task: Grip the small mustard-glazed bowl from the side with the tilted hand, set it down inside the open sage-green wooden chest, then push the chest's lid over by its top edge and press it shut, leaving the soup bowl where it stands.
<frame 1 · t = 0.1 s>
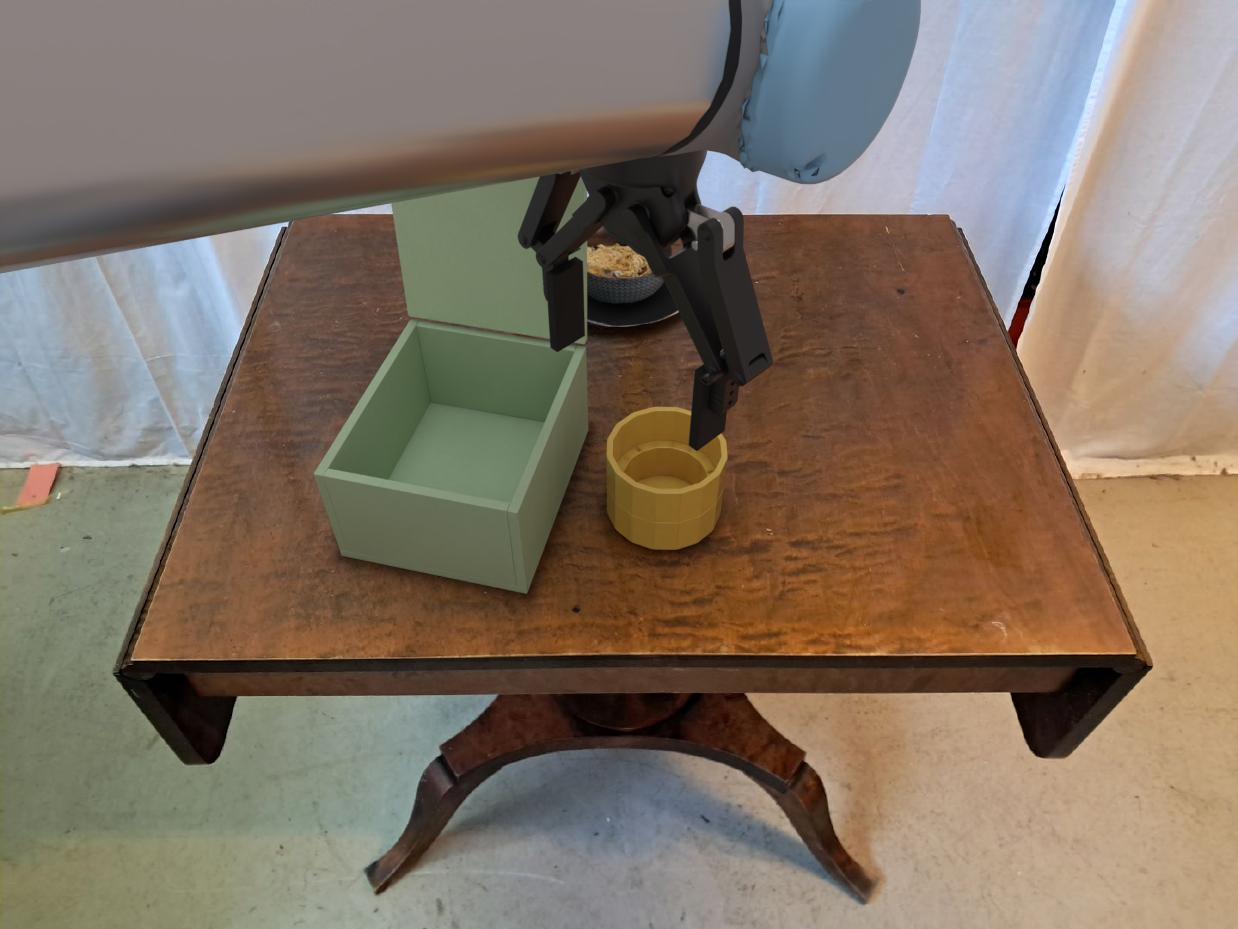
hand: (633, 387, 65), 16 cm above the table, tool pointing down, fingers open, 13 cm apart
chest lid: (488, 222, 73), point 20 cm above the table, hinge at 95.0°
soup bowl: (617, 295, 100), on the table
chest: (472, 489, 81), on the table
bowl: (663, 510, 79), on the table
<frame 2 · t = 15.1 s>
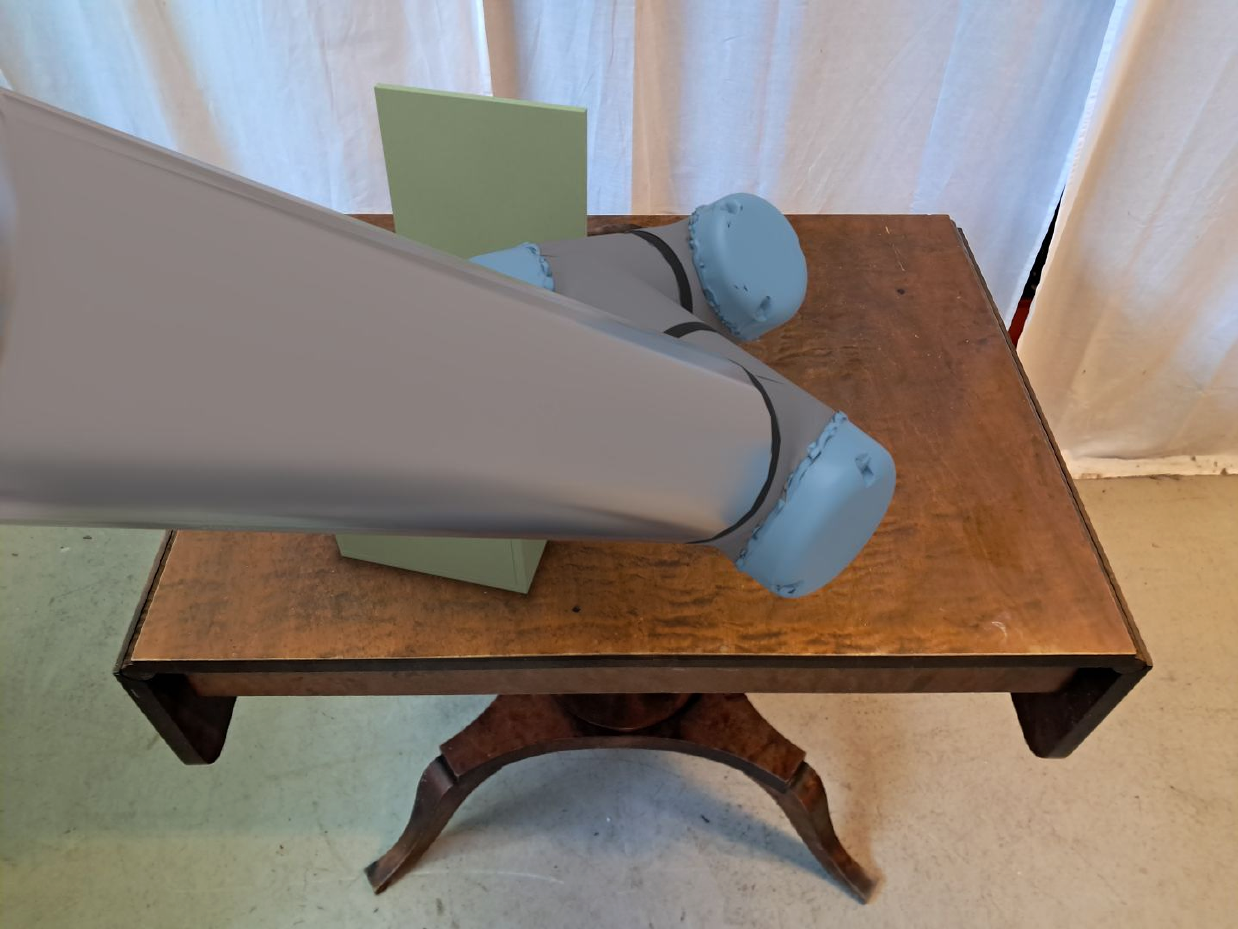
hand: (441, 421, 77), 6 cm above the table, tool tilted 45°, fingers open, 12 cm apart
bowl: (472, 482, 80), point 1 cm above the table, touching chest
everything else where it was.
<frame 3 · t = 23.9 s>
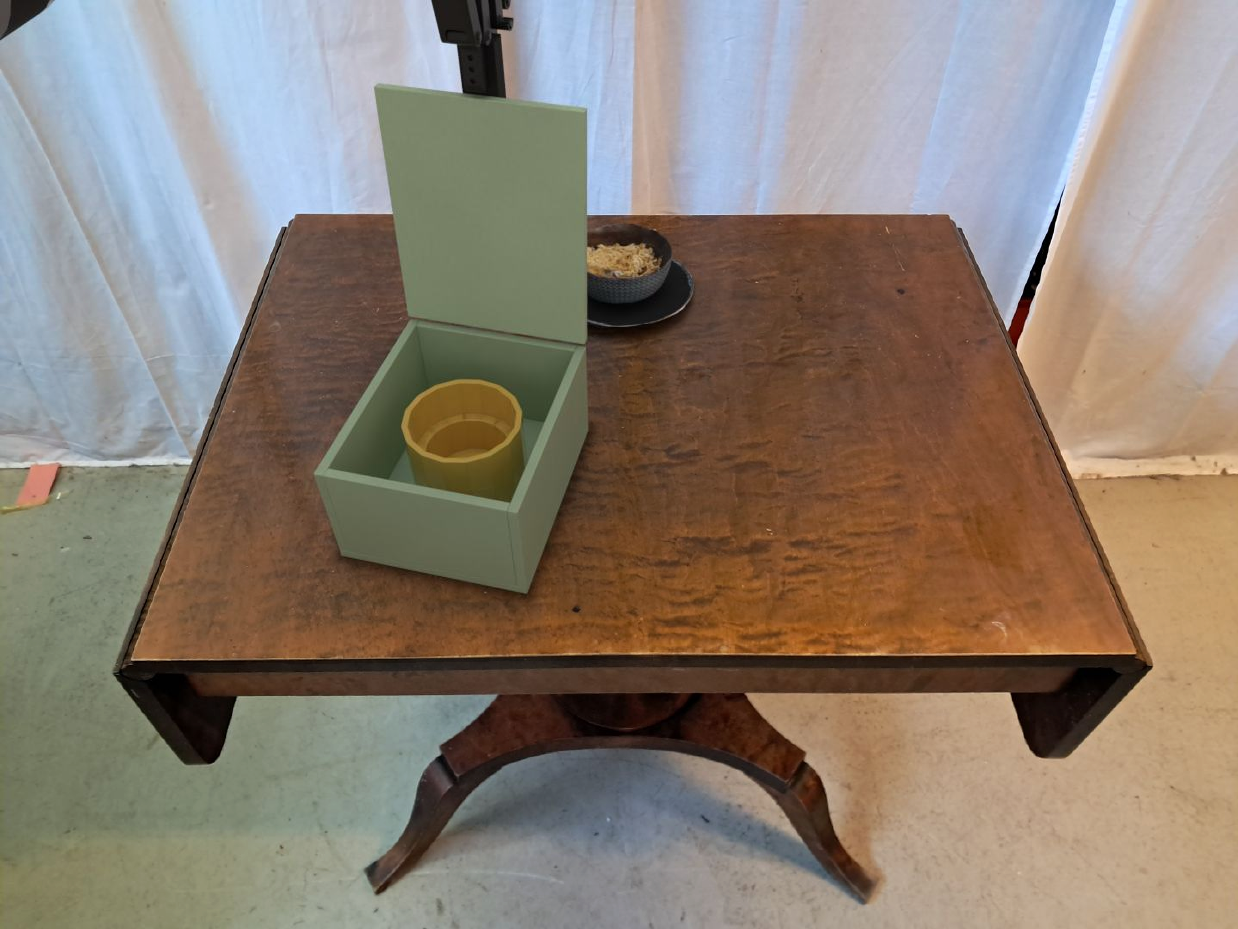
hand: (487, 125, 69), 27 cm above the table, tool pointing down, fingers closed
chest lid: (488, 222, 73), point 20 cm above the table, hinge at 95.0°, touching gripper
everything else where it was.
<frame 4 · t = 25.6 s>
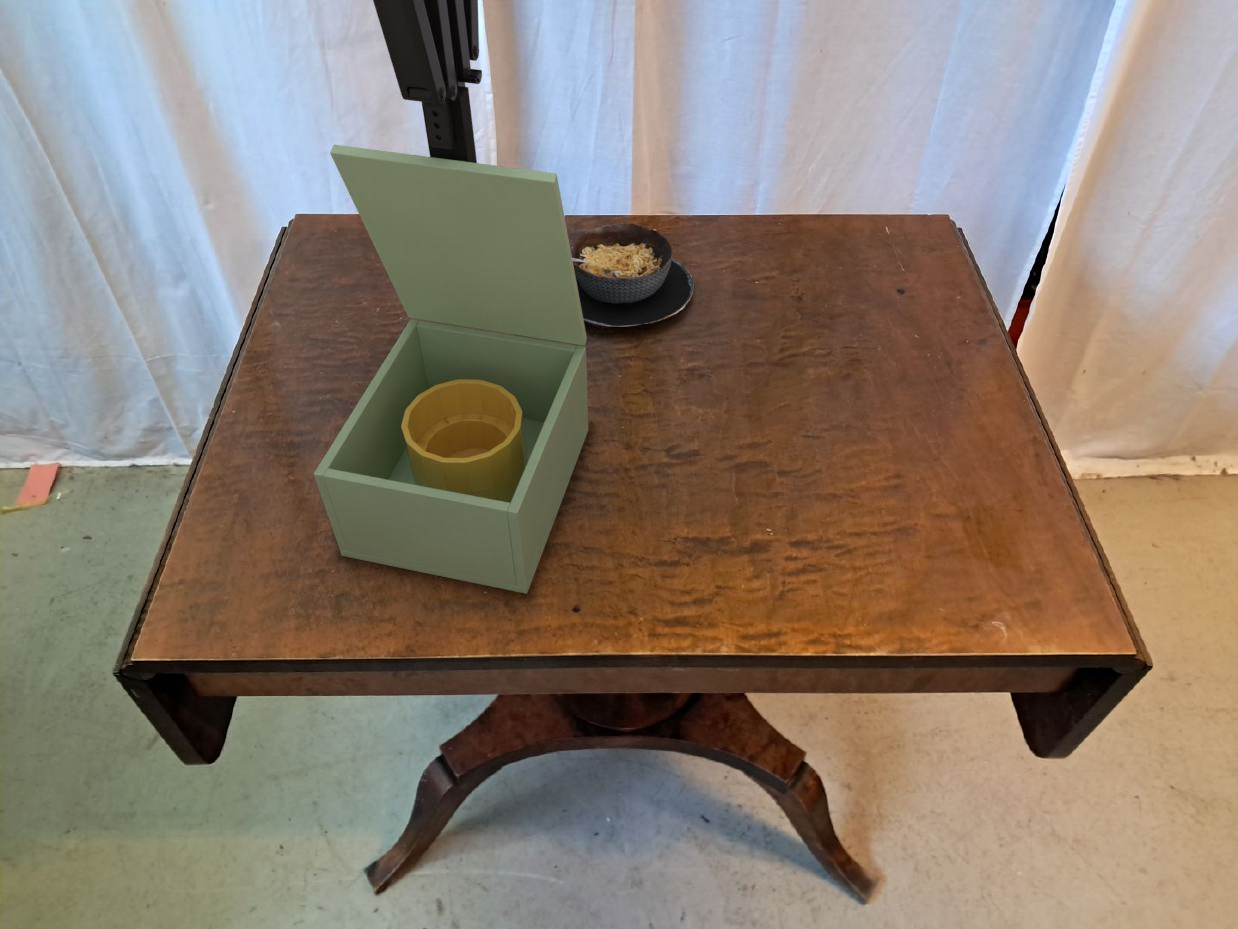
hand: (456, 181, 65), 26 cm above the table, tool pointing down, fingers closed
chest lid: (472, 255, 71), point 19 cm above the table, hinge at 72.0°, touching gripper
everything else where it was.
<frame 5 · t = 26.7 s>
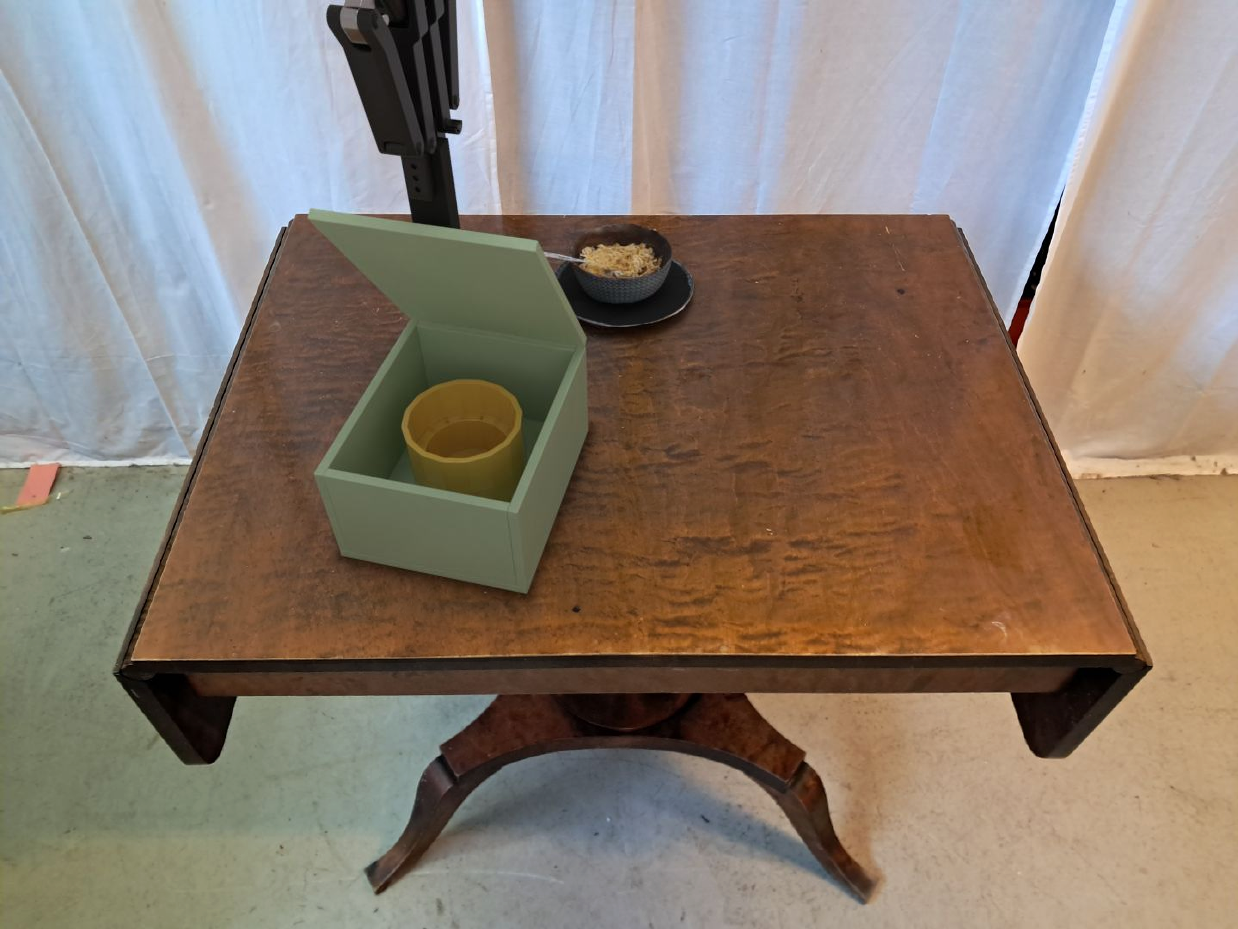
hand: (437, 230, 63), 25 cm above the table, tool pointing down, fingers closed
chest lid: (463, 285, 70), point 18 cm above the table, hinge at 57.0°, touching gripper
everything else where it was.
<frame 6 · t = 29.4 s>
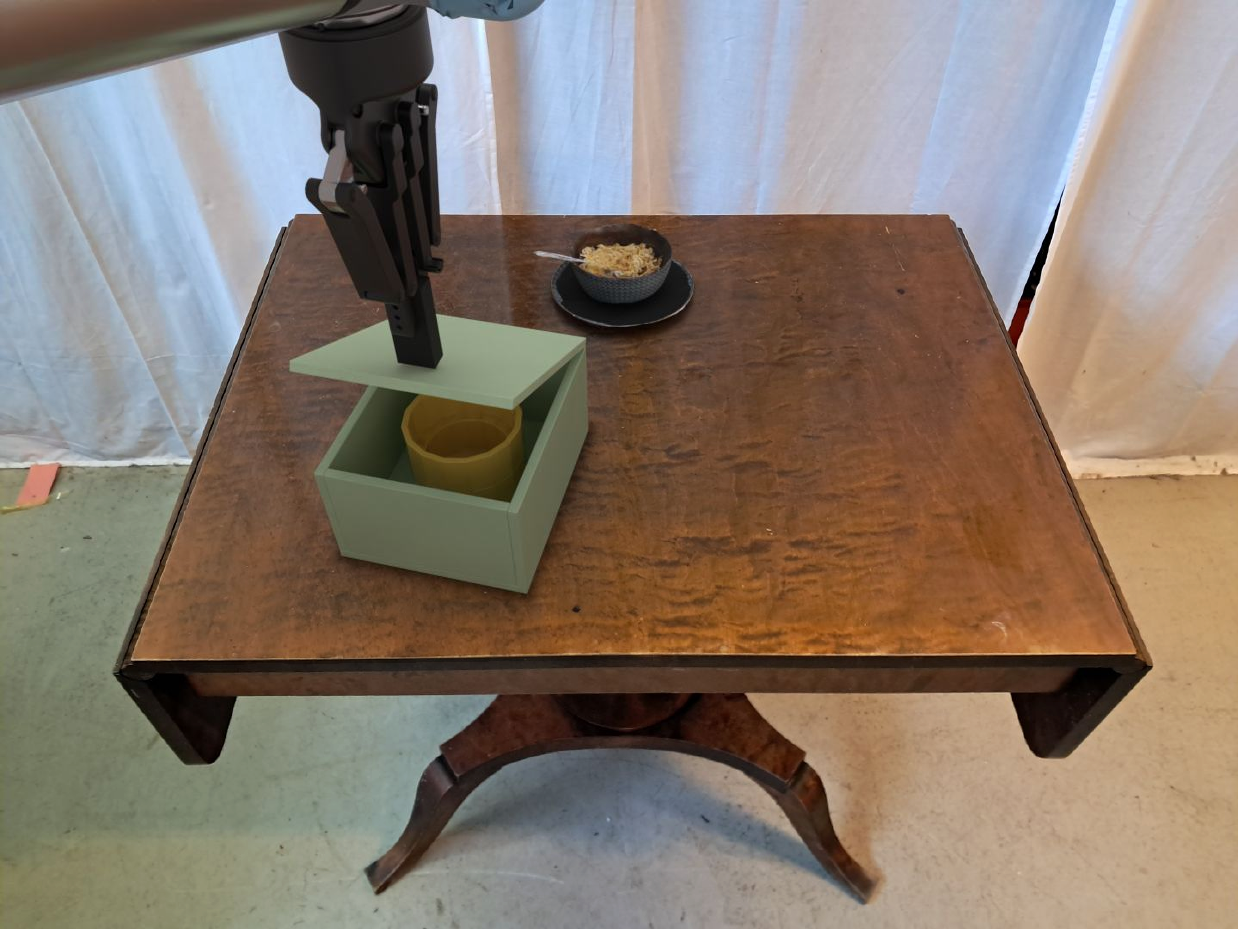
hand: (420, 358, 64), 18 cm above the table, tool pointing down, fingers closed
chest lid: (453, 352, 70), point 15 cm above the table, hinge at 26.9°, touching gripper
everything else where it was.
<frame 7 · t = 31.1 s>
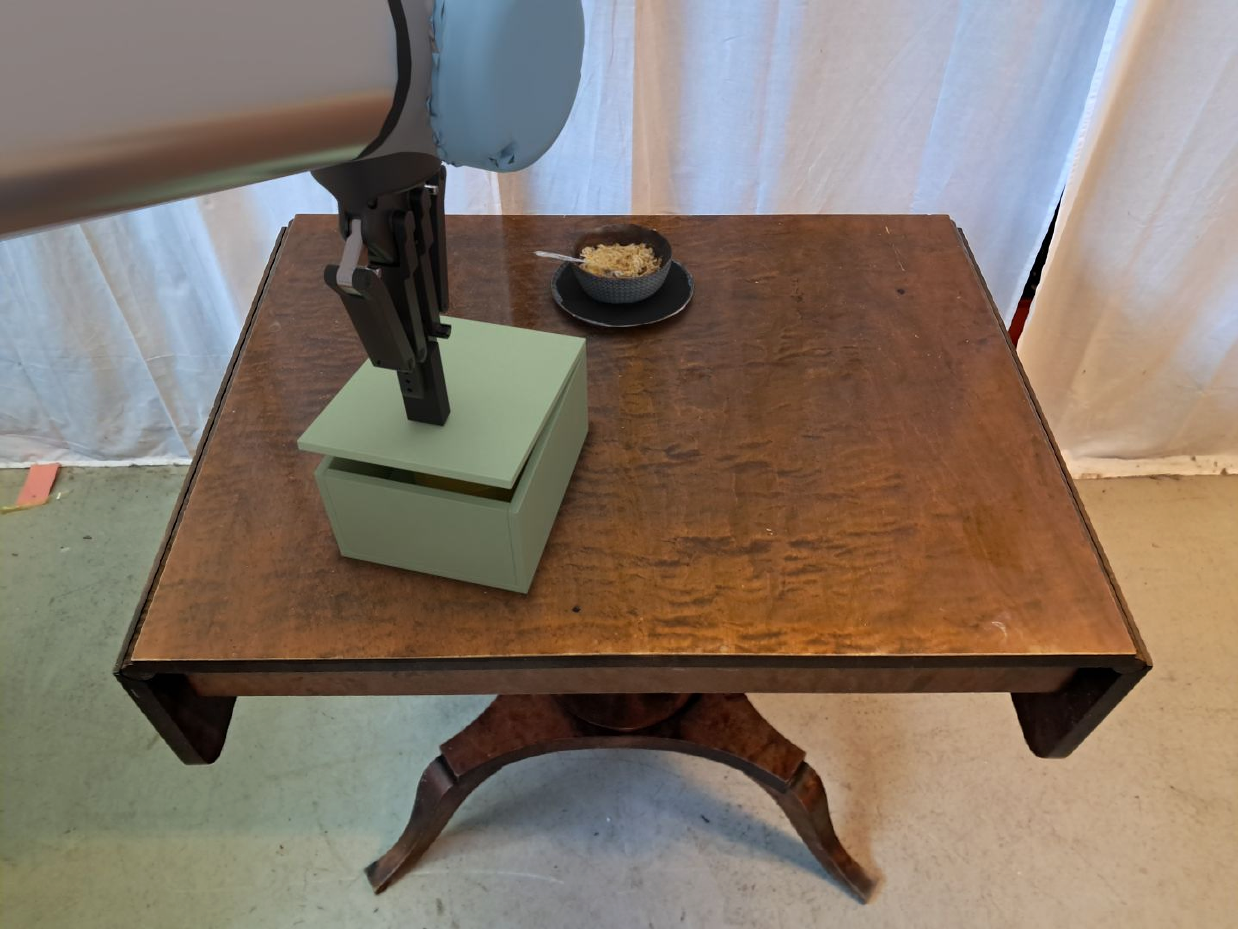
hand: (429, 415, 68), 13 cm above the table, tool pointing down, fingers closed
chest lid: (454, 389, 72), point 12 cm above the table, hinge at 9.1°, touching gripper
everything else where it was.
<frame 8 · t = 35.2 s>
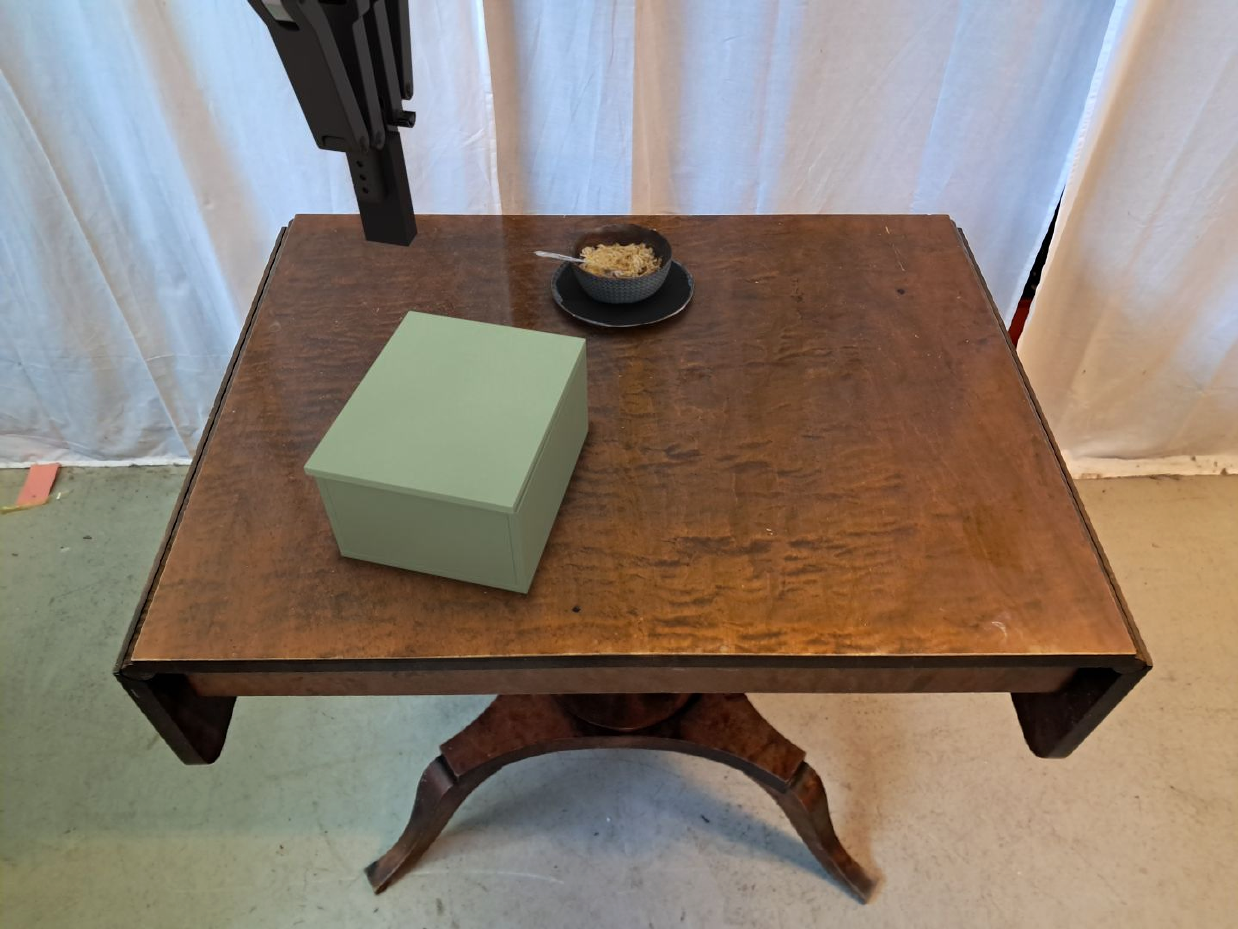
hand: (391, 236, 57), 28 cm above the table, tool pointing down, fingers closed
chest lid: (455, 401, 73), point 11 cm above the table, hinge at 2.0°
everything else where it was.
at the end: bowl inside the target area in the chest (0.1 cm from its centre), point 0.8 cm above the chest's base; chest lid at +2° (first picture: +95°); soup bowl moved 0.2 cm from its start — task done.
